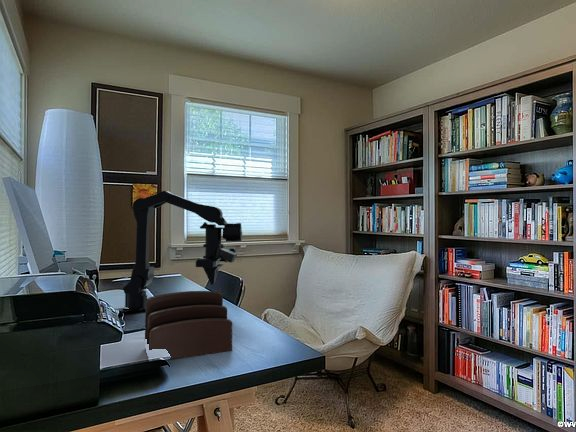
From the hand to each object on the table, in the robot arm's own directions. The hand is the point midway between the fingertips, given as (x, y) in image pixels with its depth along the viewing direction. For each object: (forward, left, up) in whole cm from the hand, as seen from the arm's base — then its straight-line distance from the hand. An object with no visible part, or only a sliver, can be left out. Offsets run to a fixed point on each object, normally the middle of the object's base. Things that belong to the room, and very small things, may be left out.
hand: (212, 284), depth 135 cm
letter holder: (+8, -41, -10) cm, 43 cm away
